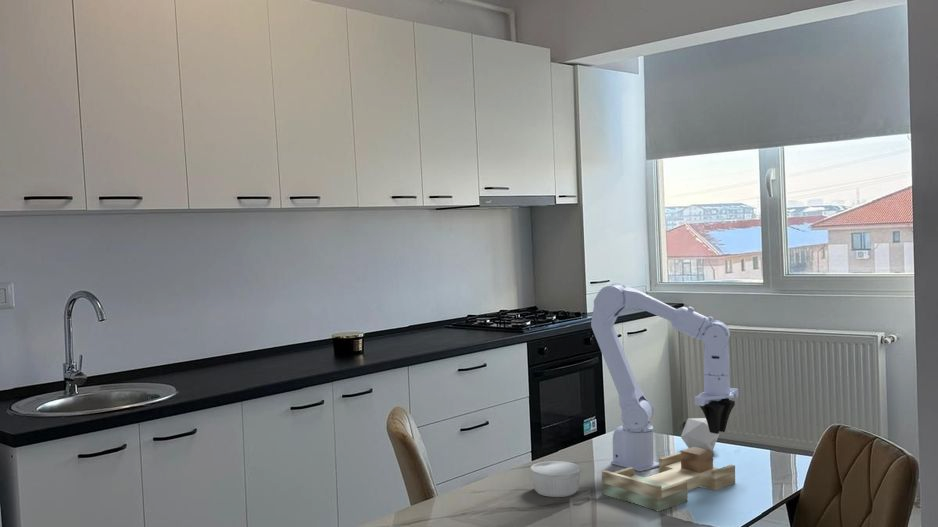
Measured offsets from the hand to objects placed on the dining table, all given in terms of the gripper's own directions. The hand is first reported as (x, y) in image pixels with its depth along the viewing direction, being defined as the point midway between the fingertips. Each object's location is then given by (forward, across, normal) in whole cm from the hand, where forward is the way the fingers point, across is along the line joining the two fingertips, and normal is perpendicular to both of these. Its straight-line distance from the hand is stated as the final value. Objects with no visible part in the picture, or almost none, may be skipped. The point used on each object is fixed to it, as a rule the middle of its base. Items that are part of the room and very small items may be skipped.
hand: (717, 432), depth 190 cm
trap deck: (+9, -18, 0) cm, 20 cm away
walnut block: (+7, -8, 0) cm, 11 cm away
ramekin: (+10, -37, +16) cm, 41 cm away
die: (+10, +13, +14) cm, 21 cm away
